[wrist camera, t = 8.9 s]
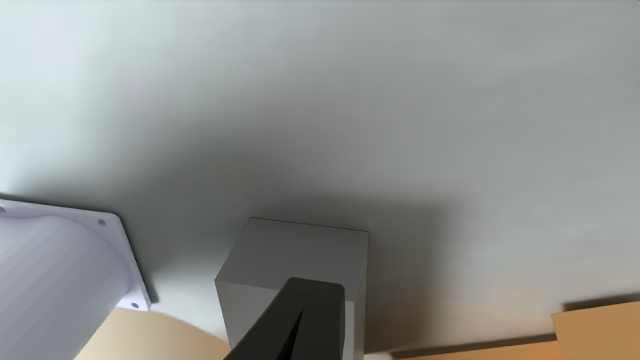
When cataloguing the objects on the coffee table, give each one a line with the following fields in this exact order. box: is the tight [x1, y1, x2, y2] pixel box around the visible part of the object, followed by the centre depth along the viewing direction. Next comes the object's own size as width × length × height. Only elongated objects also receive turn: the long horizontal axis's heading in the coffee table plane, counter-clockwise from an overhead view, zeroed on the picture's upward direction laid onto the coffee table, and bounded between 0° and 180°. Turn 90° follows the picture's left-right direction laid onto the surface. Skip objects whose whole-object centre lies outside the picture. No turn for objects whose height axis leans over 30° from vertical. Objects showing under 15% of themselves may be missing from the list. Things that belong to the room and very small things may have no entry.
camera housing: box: [214, 218, 369, 360], centre depth 22 cm, size 6×10×6 cm, turn 2°
